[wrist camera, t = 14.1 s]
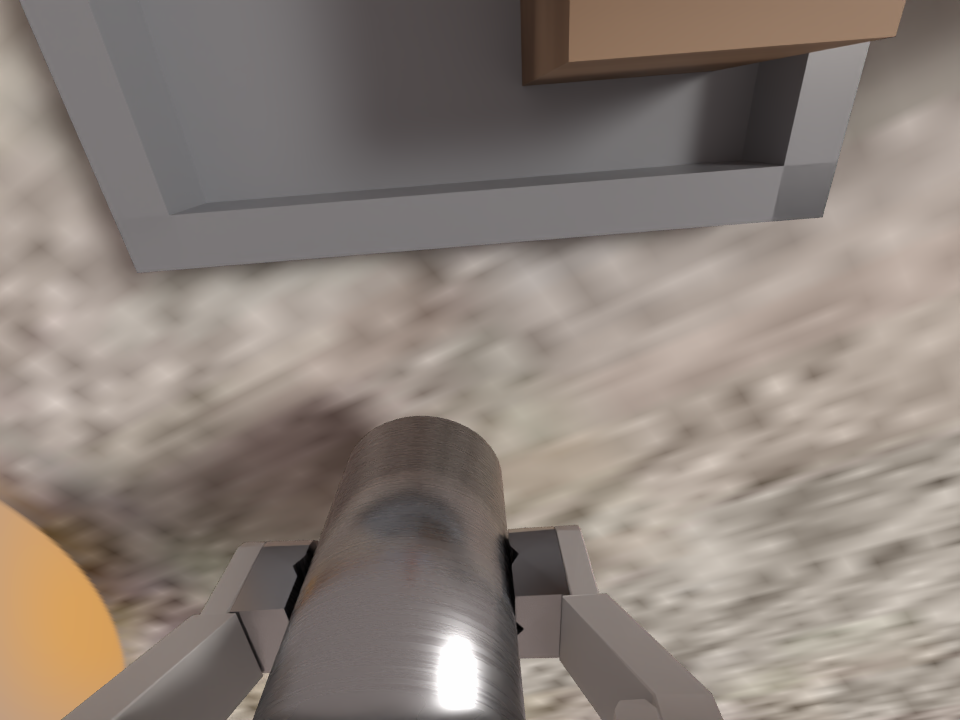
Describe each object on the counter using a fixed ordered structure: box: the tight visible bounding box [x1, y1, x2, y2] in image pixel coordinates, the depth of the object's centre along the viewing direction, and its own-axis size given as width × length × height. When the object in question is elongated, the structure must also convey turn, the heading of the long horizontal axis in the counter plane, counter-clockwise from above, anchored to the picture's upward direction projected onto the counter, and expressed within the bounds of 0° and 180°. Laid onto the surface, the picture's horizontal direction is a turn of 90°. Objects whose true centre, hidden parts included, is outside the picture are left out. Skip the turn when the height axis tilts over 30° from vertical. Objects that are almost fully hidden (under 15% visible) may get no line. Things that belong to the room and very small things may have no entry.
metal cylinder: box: [253, 416, 526, 720], centre depth 9 cm, size 4×4×6 cm
